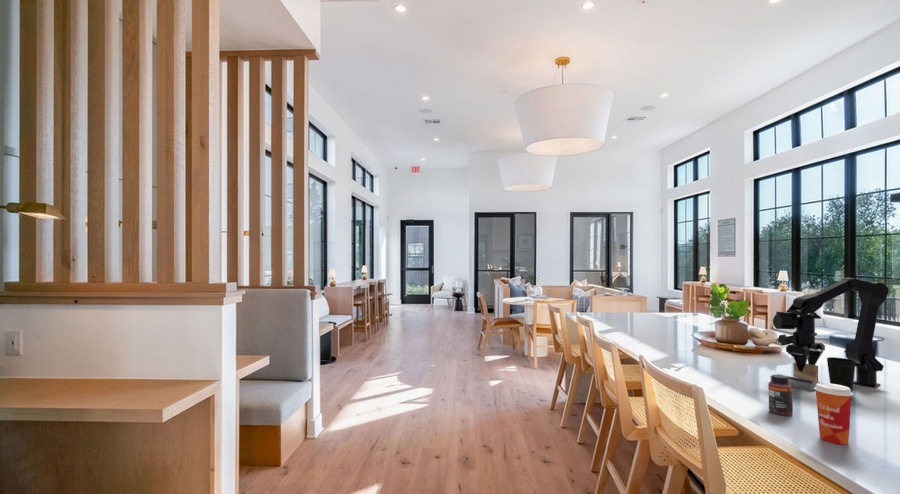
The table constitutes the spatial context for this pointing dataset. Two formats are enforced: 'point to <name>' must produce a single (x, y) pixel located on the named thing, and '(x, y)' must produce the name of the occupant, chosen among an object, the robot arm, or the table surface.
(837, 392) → the paper cup
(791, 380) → the track
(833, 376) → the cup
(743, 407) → the table surface
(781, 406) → the supplement bottle
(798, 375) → the oak panel
